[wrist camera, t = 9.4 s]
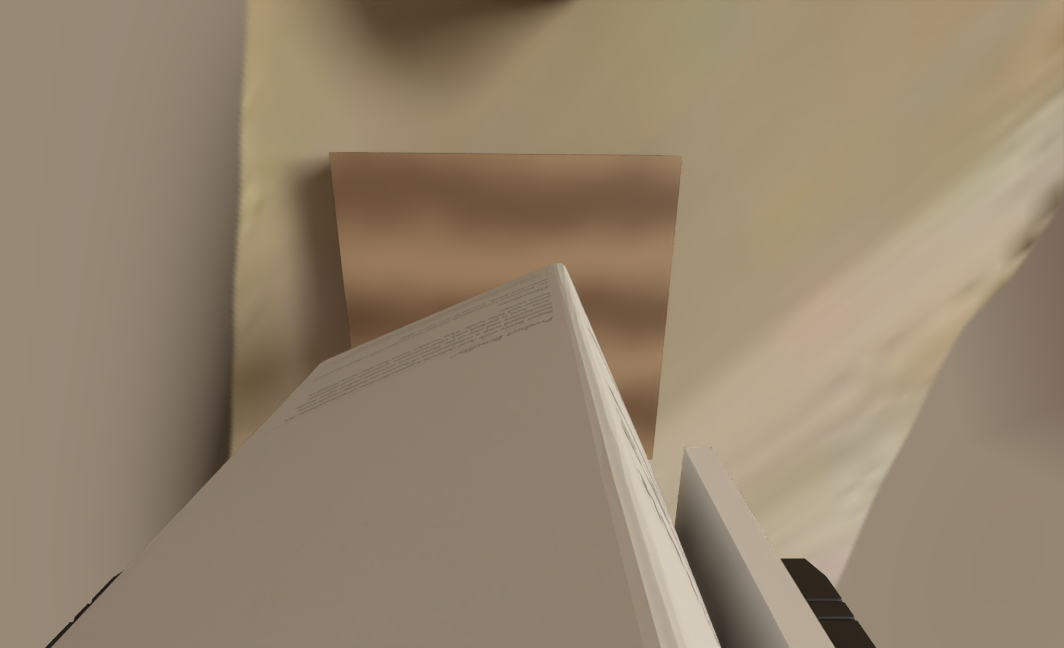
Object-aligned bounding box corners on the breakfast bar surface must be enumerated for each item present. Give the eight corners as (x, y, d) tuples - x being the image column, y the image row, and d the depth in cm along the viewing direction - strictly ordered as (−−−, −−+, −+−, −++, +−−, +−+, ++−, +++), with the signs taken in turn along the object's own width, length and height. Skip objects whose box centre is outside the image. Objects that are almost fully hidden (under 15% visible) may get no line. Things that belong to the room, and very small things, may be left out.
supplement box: (436, 555, 20) (193, 1591, 6) (316, 358, 17) (-749, 1401, 3) (659, 477, 19) (1069, 1534, 4) (567, 253, 16) (868, 1127, 2)
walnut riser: (638, 426, 36) (652, 459, 32) (380, 425, 35) (363, 458, 32) (662, 155, 30) (682, 156, 26) (354, 152, 30) (328, 152, 26)
